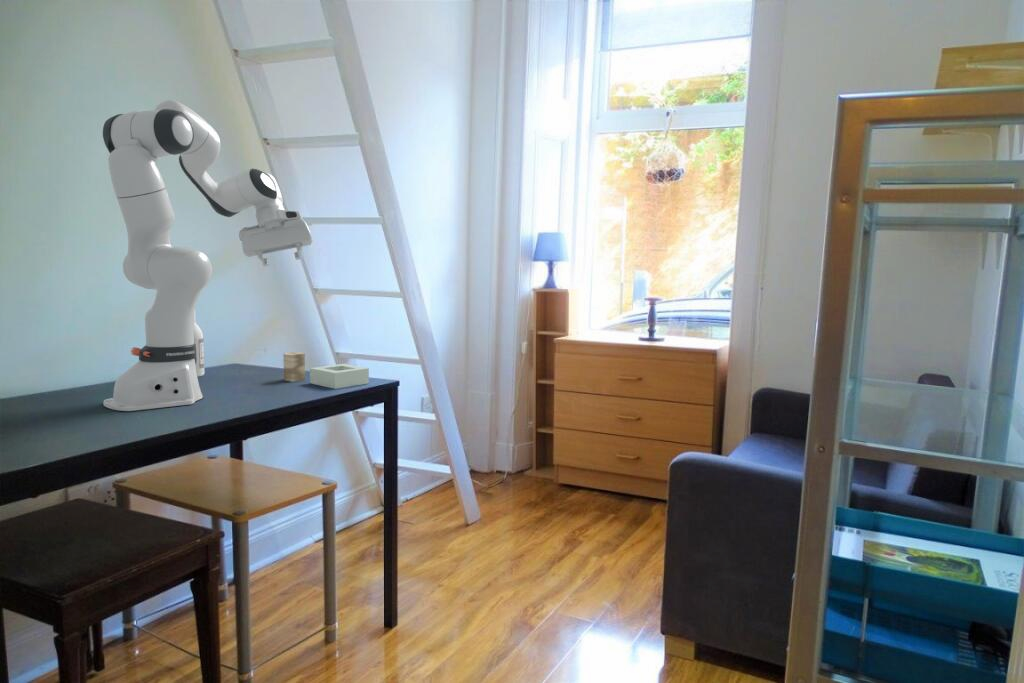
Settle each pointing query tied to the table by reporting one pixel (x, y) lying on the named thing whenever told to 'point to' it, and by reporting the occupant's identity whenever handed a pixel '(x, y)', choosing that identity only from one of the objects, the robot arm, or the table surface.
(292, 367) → the birch peg
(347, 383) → the socket block
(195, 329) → the bath foam
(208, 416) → the table surface
